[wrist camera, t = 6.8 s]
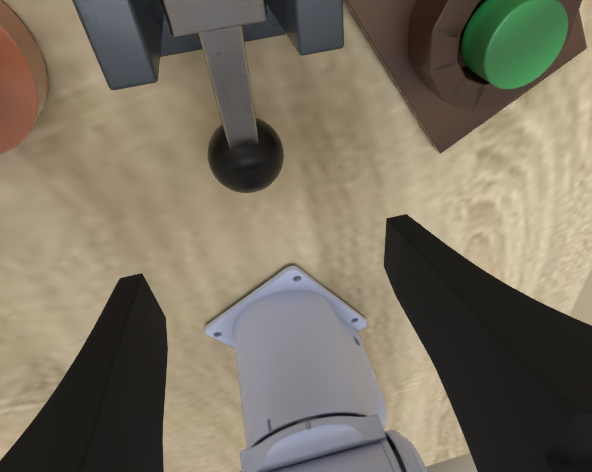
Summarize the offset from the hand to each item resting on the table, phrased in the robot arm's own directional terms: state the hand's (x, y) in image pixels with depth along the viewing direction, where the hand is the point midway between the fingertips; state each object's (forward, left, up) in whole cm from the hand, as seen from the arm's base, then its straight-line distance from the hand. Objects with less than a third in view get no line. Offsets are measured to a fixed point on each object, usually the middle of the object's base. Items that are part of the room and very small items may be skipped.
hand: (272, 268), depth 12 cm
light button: (-3, -11, -7) cm, 13 cm away
